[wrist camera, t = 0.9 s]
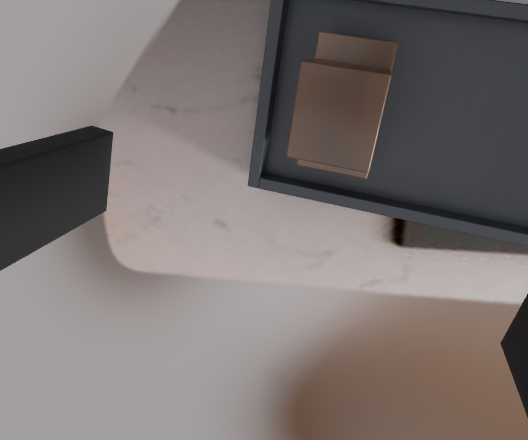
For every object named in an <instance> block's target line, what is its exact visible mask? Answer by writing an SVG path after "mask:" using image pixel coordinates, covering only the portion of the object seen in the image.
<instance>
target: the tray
mask: <svg viewBox="0 0 528 440" xmlns="http://www.w3.org/2000/svg"><path fill="white" fill-rule="evenodd" d="M319 31H324V32H331V33H338V34H345V35H352V36H359V37H366V38H373V39H380V40H387V41H394V42H398V47H397V51H396V55H395V60H394V64H393V68H392V74H391V80H390V84H389V89H388V93H387V97H386V101H385V106H384V110H383V114H382V119H381V123H380V127H379V131H378V136H377V140H376V144H375V149H374V153H373V157H372V161H371V166H370V170H369V172H368V176H367V179H363V178H358V177H353V176H348V175H343V174H338V173H333V172H328V171H323V170H318V169H313V168H308V167H303V166H299V165H297V159H295V158H290V157H287V156H286V152H287V146H288V140H289V133H290V127H291V120H292V114H293V108H294V101H295V95H296V89H297V82H298V76H299V69H300V63H301V61H302V60H309V59H314V56H315V50H316V45H317V39H318V33H319ZM248 186H251V187H255V188H260V189H264V190H269V191H274V192H278V193H283V194H287V195H292V196H297V197H301V198H306V199H311V200H315V201H320V202H325V203H329V204H334V205H338V206H343V207H348V208H352V209H357V210H362V211H366V212H371V213H375V214H380V215H385V216H389V217H394V218H399V219H403V220H408V221H412V222H417V223H422V224H426V225H431V226H436V227H440V228H445V229H450V230H454V231H459V232H463V233H468V234H473V235H477V236H482V237H487V238H491V239H496V240H500V241H505V242H510V243H514V244H519V245H524V246H528V4H520V3H510V2H503V1H495V0H271V7H270V15H269V22H268V30H267V38H266V46H265V54H264V62H263V70H262V78H261V86H260V94H259V102H258V109H257V117H256V125H255V133H254V141H253V149H252V157H251V165H250V173H249V181H248Z"/></svg>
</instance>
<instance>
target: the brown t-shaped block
mask: <svg viewBox="0 0 528 440" xmlns="http://www.w3.org/2000/svg"><path fill="white" fill-rule="evenodd" d="M397 47H398V42H394V41H387V40H380V39H373V38H366V37H359V36H352V35H345V34H338V33H331V32H324V31H319V33H318V39H317V45H316V50H315V56H314V59H309V60H302V61H301V63H300V69H299V76H298V82H297V89H296V95H295V101H294V108H293V114H292V120H291V127H290V133H289V140H288V146H287V152H286V156H287V157H290V158H295V159H297V165H299V166H303V167H308V168H313V169H318V170H323V171H328V172H333V173H338V174H343V175H348V176H353V177H358V178H363V179H367V176H368V172H369V170H370V166H371V161H372V157H373V153H374V149H375V144H376V140H377V136H378V131H379V127H380V123H381V119H382V114H383V110H384V106H385V101H386V97H387V93H388V89H389V84H390V80H391V74H392V68H393V64H394V60H395V55H396V51H397Z"/></svg>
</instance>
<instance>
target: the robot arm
mask: <svg viewBox="0 0 528 440" xmlns="http://www.w3.org/2000/svg"><path fill="white" fill-rule="evenodd" d="M112 140H113V132H111V131H107V130H104V129H101V128H98V127H94V126H89V127H85V128H81V129H77V130H73V131H70V132H66V133H61V134H57V135H54V136H50V137H46V138H42V139H38V140H34V141H31V142H26V143H23V144H19V145H15V146H11V147H7V148H3V149H0V270H2V269H4V268H6V267H8V266H10V265H11V264H13V263H15V262H16V261H18V260H20V259H22V258H24V257H25V256H27V255H29V254H31V253H32V252H34V251H36V250H38V249H39V248H41V247H43V246H44V245H47V244H48V243H50V242H51V241H54V240H55V239H57V238H59V237H61V236H62V235H64V234H66V233H68V232H69V231H71V230H73V229H75V228H77V227H78V226H80V225H82V224H84V223H85V222H87V221H89V220H91V219H92V218H94V217H96V216H98V215H99V214H101V213H103V212H105V211H106V207H107V196H108V184H109V173H110V162H111V151H112ZM501 346H502V348H503V351H504V354H505V357H506V360H507V362H508V365H509V368H510V370H511V373H512V376H513V378H514V381H515V384H516V387H517V390H518V392H519V395H520V398H521V400H522V403H523V406H524V408H525V411H526V414H527V417H528V294H527V296H526V298H525V300H524V301H523V303H522V305H521V307H520V309H519V311H518V312H517V314H516V316H515V318H514V320H513V321H512V323H511V325H510V327H509V329H508V331H507V332H506V334H505V336H504V338H503V340H502V341H501Z"/></svg>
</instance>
